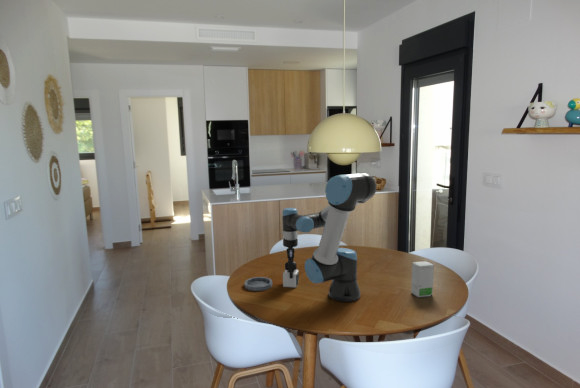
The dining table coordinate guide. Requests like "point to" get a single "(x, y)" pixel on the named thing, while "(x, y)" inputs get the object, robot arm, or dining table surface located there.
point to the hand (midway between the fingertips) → (291, 280)
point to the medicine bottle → (286, 279)
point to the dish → (258, 283)
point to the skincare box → (422, 279)
